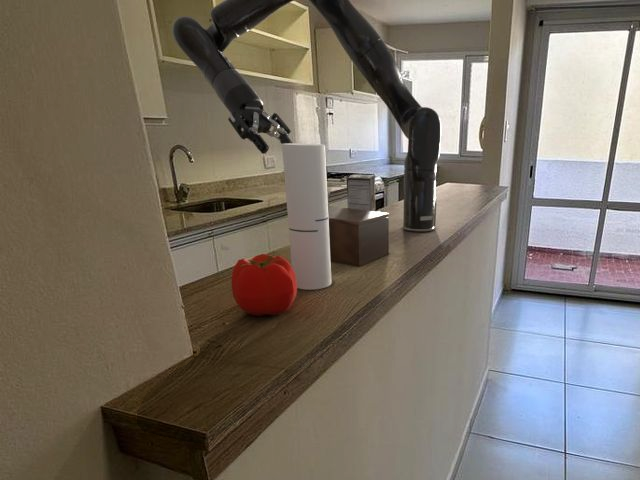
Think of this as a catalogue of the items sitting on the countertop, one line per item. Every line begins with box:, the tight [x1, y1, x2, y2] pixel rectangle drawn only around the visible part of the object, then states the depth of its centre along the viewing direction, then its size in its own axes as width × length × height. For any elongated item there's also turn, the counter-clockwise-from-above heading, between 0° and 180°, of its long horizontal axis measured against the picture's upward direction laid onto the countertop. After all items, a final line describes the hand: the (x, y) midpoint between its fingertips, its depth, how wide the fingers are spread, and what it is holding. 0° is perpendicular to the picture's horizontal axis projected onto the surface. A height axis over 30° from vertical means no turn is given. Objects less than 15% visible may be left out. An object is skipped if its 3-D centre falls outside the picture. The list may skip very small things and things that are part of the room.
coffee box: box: [346, 174, 376, 212], centre depth 119 cm, size 9×6×16 cm
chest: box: [329, 217, 390, 267], centre depth 104 cm, size 16×13×9 cm
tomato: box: [230, 253, 298, 317], centre depth 71 cm, size 11×11×9 cm
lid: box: [327, 190, 390, 226], centre depth 101 cm, size 16×13×5 cm
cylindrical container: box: [281, 142, 333, 291], centre depth 81 cm, size 7×7×25 cm
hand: (279, 150), depth 104 cm, fingers open, 8 cm apart
